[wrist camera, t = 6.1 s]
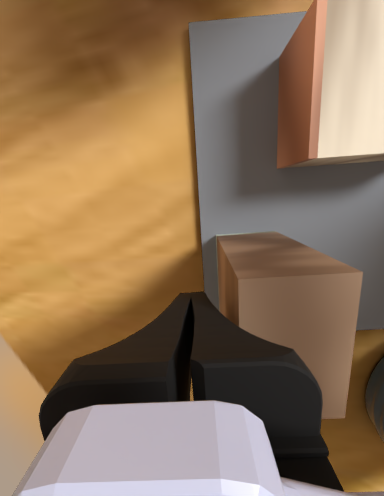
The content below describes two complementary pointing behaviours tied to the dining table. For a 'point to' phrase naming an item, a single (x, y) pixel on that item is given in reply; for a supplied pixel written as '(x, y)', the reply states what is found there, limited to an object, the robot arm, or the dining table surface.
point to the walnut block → (293, 304)
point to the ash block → (333, 86)
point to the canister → (376, 398)
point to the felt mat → (274, 161)
